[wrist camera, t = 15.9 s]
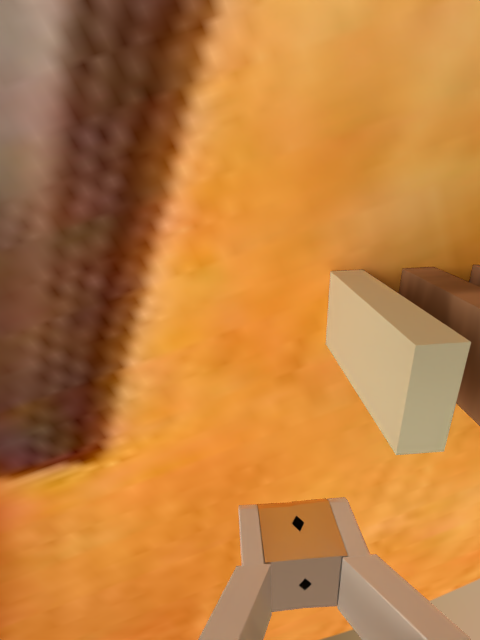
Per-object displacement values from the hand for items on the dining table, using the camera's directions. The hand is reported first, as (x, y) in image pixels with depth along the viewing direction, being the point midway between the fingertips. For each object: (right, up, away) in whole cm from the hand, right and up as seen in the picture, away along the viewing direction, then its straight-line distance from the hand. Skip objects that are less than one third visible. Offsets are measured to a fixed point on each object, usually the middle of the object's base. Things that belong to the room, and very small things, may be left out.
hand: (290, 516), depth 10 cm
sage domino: (+5, +6, +13) cm, 15 cm away
